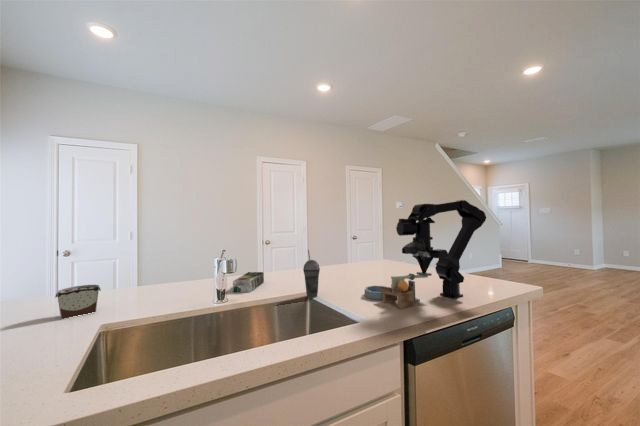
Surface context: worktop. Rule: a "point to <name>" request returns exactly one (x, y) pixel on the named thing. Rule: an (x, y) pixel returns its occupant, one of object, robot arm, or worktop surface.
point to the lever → (411, 276)
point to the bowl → (373, 292)
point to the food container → (77, 300)
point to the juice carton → (248, 282)
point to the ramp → (398, 296)
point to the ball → (402, 286)
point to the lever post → (411, 283)
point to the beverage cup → (311, 277)
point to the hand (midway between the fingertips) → (424, 272)
